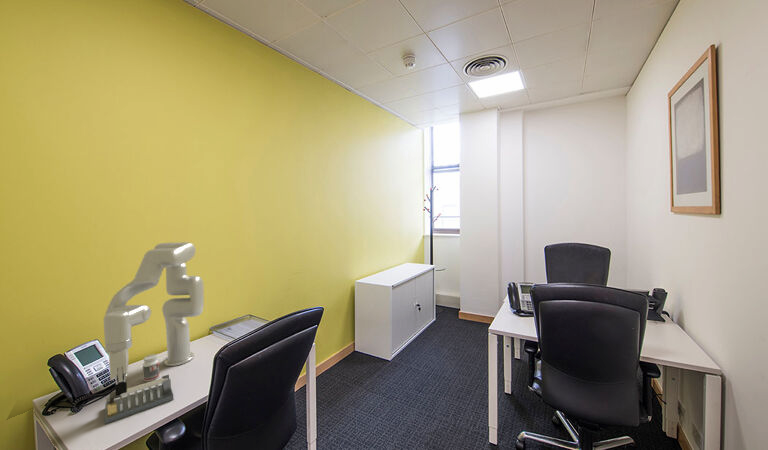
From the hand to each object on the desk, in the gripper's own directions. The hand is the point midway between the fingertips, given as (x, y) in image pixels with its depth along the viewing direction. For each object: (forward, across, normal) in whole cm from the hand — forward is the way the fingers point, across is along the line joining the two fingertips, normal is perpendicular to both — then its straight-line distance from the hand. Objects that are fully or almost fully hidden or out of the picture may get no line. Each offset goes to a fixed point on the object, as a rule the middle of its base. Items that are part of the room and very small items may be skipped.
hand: (121, 392), depth 113 cm
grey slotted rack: (+7, 0, +5) cm, 9 cm away
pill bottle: (+7, -20, +10) cm, 24 cm away
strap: (+1, 0, +6) cm, 6 cm away
